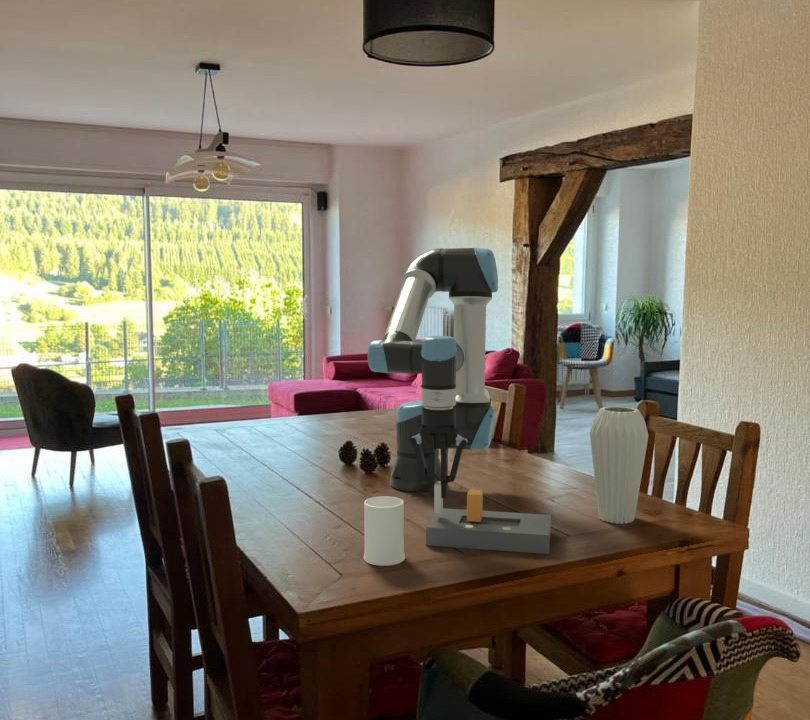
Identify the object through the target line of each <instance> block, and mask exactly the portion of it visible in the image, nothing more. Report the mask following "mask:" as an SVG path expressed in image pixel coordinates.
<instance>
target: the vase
mask: <svg viewBox="0 0 810 720" xmlns="http://www.w3.org/2000/svg"><path fill="white" fill-rule="evenodd" d="M591 423H592V424H591V427H590V431H589V438H590V448H591V457H592V465H593V467H592V468H593V474H594V475H593V476H594V484H595V493H596V503H597V511H598V518H599V519H600V520H601V521H603V522H605V523H610V524H616V525H617V524H620V525H621V524H622V525H623V524H626V525H628V523H629V524H630V523H632V522H634V521H635V517H636V511H637V507H638V502H639V501H638V500H639V496H640V495H639V493H640V486H641V482H642V476H643V471H644V465H645V460H646V459H645V458H646V452H647V447H648V440H649V437H650V436H649V432H648V427H647V424H646V421H645V418H644V416H643V415H642V413H641V411H640V409H637V408H636V407H631V406H630V407H629V406H628V407H627V406H614V405H613V406H603V407H601V408H599V409H598V411H597V413H596V414H595V416H594V418H593V420H592V422H591Z"/></svg>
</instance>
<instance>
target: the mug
mask: <svg viewBox="0 0 810 720" xmlns="http://www.w3.org/2000/svg"><path fill="white" fill-rule="evenodd" d="M404 502H405V501H404V499H402V498H399V497H396V496H389V495H388V496H387V495H385V496H383V495H382V496H373V497H369V498H367V499H366V500H364V502H363V506H364V507H363V509H364V516H363V517H364V518H363V519H364V520H363V521H364V522H363V523H364V530H363V531H364V554H363V561H365V562H366V563H367V564H369V565H373V566H378V567H379V566H381V567H387V566H394V565H398V564H402V562H404V561H405V559H406V555H405V554H406V553H405V536H404V535H405V520H404V519H405V518H404V517H405V512H404V511H405V509H404V508H405V507H404V505H405V504H404Z"/></svg>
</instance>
